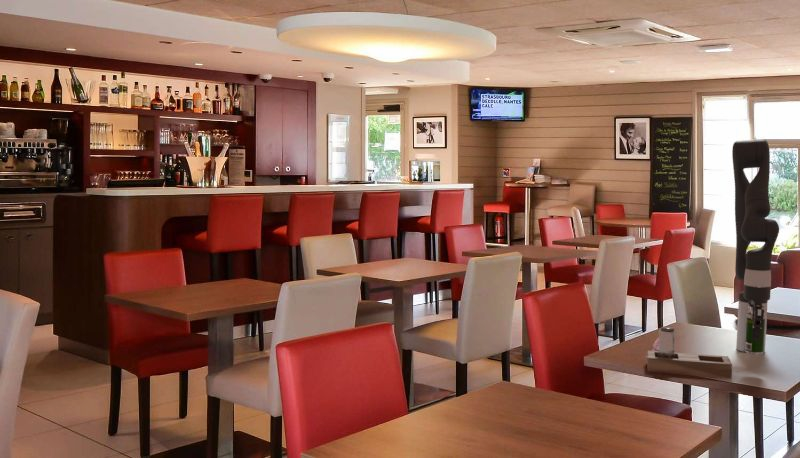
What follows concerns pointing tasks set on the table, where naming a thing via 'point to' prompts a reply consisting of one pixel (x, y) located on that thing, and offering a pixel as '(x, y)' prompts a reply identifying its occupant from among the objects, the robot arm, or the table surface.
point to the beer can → (750, 344)
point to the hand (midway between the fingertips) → (754, 338)
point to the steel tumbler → (666, 342)
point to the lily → (656, 345)
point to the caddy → (690, 364)
